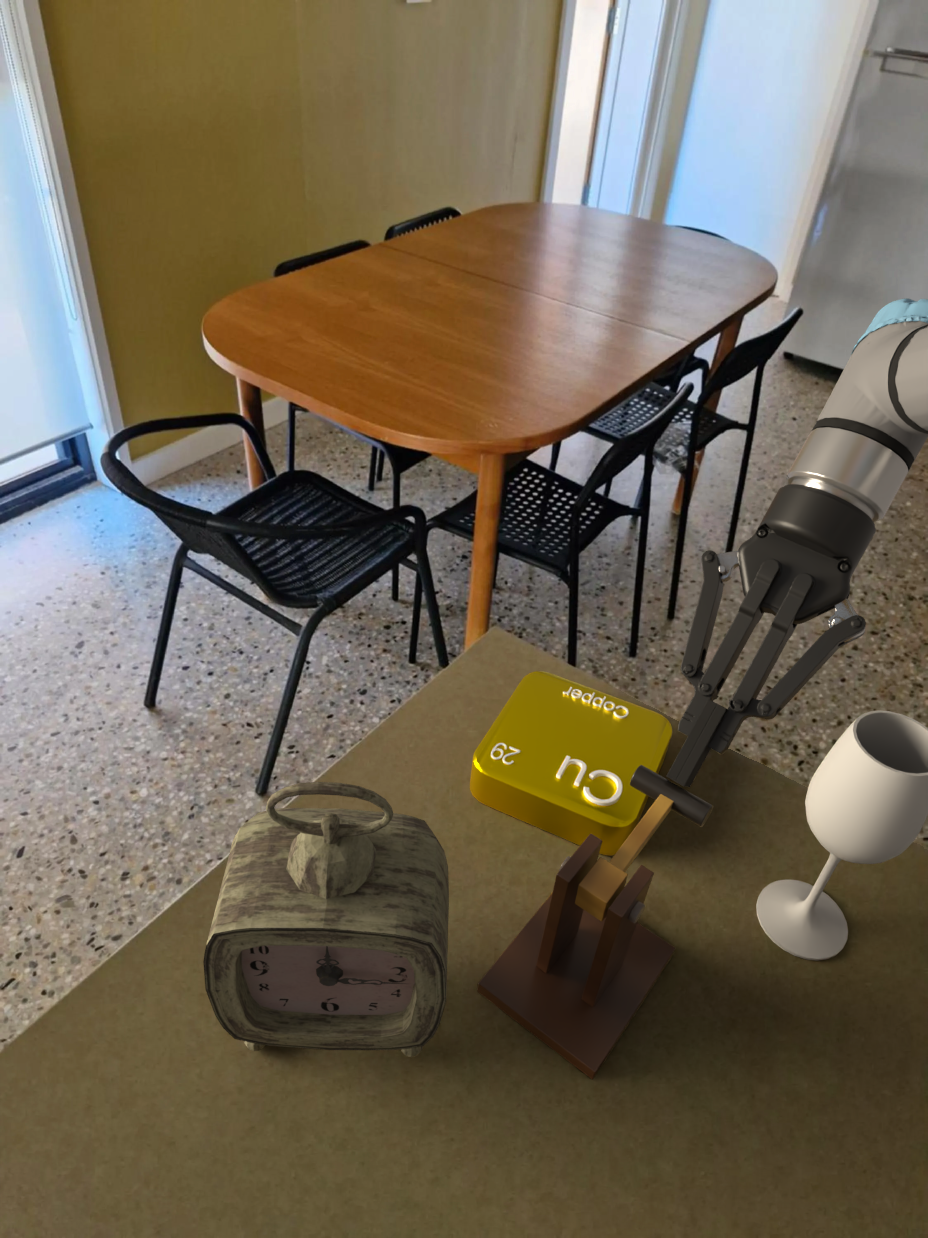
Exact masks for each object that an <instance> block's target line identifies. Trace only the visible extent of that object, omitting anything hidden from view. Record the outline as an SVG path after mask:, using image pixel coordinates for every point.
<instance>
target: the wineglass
mask: <svg viewBox="0 0 928 1238" xmlns="http://www.w3.org/2000/svg"><path fill="white" fill-rule="evenodd" d="M804 800H805V801H804V805H805V814H806V821H807V824H808V827H809V828H810V830H811V832H812V834H813V835H814V837H815V838H816V840H817V841H818V842H819V844H820V845H821V846H822V847H823V848H824V849H825V850H826V851H827V852H828V853H829V856H828V859H827V860H826V862H825V865H824V866H823V868H822V870H821V872H820V873H819V875H818V877H817V879H816V881H815V883H814V885H812V884H810V883H808V882H805V881H802V880H798V879H779V880H776V881H773V882H769V884H767V885H766V886H765V887H763V888H762V890H761V891H760V893H759V895H758V897H757V901H756V906H755V907H756V909H755V910H756V917H757V920H758V923H759V925H760V926H761V929H762V931H764V934H766V936H767V937H768V938H769V939H770V940H771V941H772V942H773V943H774V944H775V945H776V946H777V947H779V948H780V949H781V950H783V951H785V952H786V953H788V954H790V955H792V956H794V957H797V958H800V959H802V960H803V959H804V960H807V961H825V960H829V959H831V958H834V957H835V956H837V955H838V954H839V953H840V952H841V951H842V950H843V949H844V947H845V945H846V943H847V941H848V935H849V928H848V923H847V922H848V921H847V920H846V917H845V915H844V913H843V910H841V908H840V907H839V905H838V904H837V903H836V902H835V900H833V898H831V896H829V894H827V893H825V891H824V889H825V887H826V886H827V884H828V883H829V881H830V879H831V877H832V875H833V873H834V871H835V869H836V868H837V866H838V865H839V863H840V862H841V861H842V860H843V861H845V862H849V863H851V864H861V865H875V864H883V863H886V862H888V861H889V860H892V859H894V858H896V857H898V856H900V855H902V854H903V853H904V852H905V851H906V850H907V849H909V847H910V846H911V845H912V844H913V843H914V842H915V840H916V838H917V837H918V836H919V834H920V833H921V830H922V829H923V826H924V825H925V823H926V820H927V818H928V727H927V726H925V725H924V724H923V723H921V722H920V721H919V720H917V719H914V718H912V717H910V716H907V715H905V714H903V713H899V712H895V711H891V710H880V709H879V710H870V711H866V712H865V713H862V714H860V715H859V716H858V717H856V718H855V720H853V721H852V723H851V724H849V726H848V727H847V728H846V729H845V731H844V732H843V733H842V734H841V735H840V736H839V738H838V739H837V740H836V741H835V743H834V744H833V746H832V747H831V748H830V750H829V751H828V752H827V754H826V755H825V757H824V758H823V759H822V761H821V763H820V764H819V766H818V767H817V769H816V770H815V772H814V773H813V775H812V777H811V779H810V782H809V785H808V787H807V792H806V796H805V799H804Z"/></svg>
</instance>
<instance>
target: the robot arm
mask: <svg viewBox="0 0 928 1238" xmlns="http://www.w3.org/2000/svg"><path fill="white" fill-rule="evenodd" d="M927 440H928V298H920V299H919V300H914V299H911V298H901V299H897V300H893V301H891V302H889V303H887V304H886V305H884V306H882V308H880V309H879V310H878V312H877V313H876V314H875V316H874V318H873V319H872V321H870V324H869V325H868V327H867V328H866V330H865V332H864V333H863V334H861V337H859V339H858V340H857V342H856V344H855V345H854V346H853V348H852V351H851V353H850V356H849V359H848V361H847V362H846V364H845V366H844V368H843V370H842V372H841V374H840V376H839V378H838V380H837V381H836V384H835V385H834V387H833V389H832V391H831V393H830V395H829V397H828V399H827V400H826V402H825V404H824V406H823V408H822V410H821V412H820V414H819V415H818V418H817V419H816V422H815V423H814V425H813V427H812V429H811V431H810V433H809V434H808V435H807V437H806V439H805V441H804V443H803V444H802V446H801V448H800V449H799V452H798V454H797V455H796V457H795V459H794V461H793V462H792V464H791V466H790V467H789V470H788V472H787V473H786V475H785V480H786V482H787V484H786V485H784V486H781V487H780V488H778V491H777V492H776V494H775V496H774V498H773V499H772V501H771V504H770V505H769V506H768V508H767V510H766V512H765V514H764V516H763V518H762V519H761V521H760V523H759V526H758V527H757V529H756V531H755V532H754V533H753V535H751V536H750V538H747V540H745V541H744V542H742V543H741V545H740V546H739V547H738V550H733V551H728V552H719V553H716V551H714V550H706V551H704V552H703V553H702V555H701V568H702V576H703V577H702V578H703V581H702V584H701V589H700V592H699V597H698V600H697V604H696V608H695V611H694V614H693V618H692V622H691V625H690V630H689V633H688V638H687V641H686V644H685V649H684V653H683V657H682V660H681V664H680V672H681V674H682V675H683V676H684V677H685V678H686V680H688V682H689V683H690V684H691V685H692V686H693V690H694V694H693V696H692V698H691V700H690V702H689V704H688V705H687V707H686V709H685V711H684V712H683V715H682V716H681V718H680V720H679V722H678V723H677V724H678V726H677V731H678V732H679V733H681V734H684V735H685V736H687V737H686V738H685V740H684V743H683V744H682V746H681V747H680V750H679V752H678V754H677V755H676V757H675V759H674V761H673V762H672V765H671V766H670V767H669V770H668V772H667V774H666V776H665V777H666V778H667V779H670V780H672V782H673V781H674V783H676V784H678V785H679V786H680V785H681V786H682V787H684V788H691V786H692V784H693V783H694V781H695V780H696V777H697V776H698V773H699V772H700V770H701V768H702V767H703V765H704V763H705V761H706V759H707V757H708V755H709V754H710V752H711V750H713V751H714V752H716V753H718V754H720V755H723V754H724V753H725V752H727V751H728V750H729V748H730V746H731V745H732V742H733V740H734V738H735V737H736V735H737V733H738V731H739V730H740V728H741V726H742V725H743V722H744V721H745V720H746V719H749V718H757V719H763V720H769V721H770V720H773V719H774V718H776V717H777V715H778V714H780V712H781V711H782V710H783V709H784V708H785V707H786V706H787V705H788V704H789V703H790V702H791V700H792V699H793V698H794V697H795V696H796V695H797V694H798V693H799V692H800V691H801V690H802V689H803V687H805V685H806V684H807V683H808V682H809V681H810V680H811V679H812V678H813V677H814V676H815V675H816V673H818V672H819V670H820V669H821V668H822V667H823V666H824V665H825V664H826V663H827V662H828V660H830V658H831V657H832V656H833V655H834V654H835V653H836V652H837V651H838V650H839V649H840V648H842V647H843V646H846V645H847V644H849V643H851V642H853V641H856V640H858V639H859V638H861V637H862V636H864V635H865V633H866V626H867V625H866V624H867V622H866V619H865V618H864V616H861V615H860V614H858V613H857V612H856V610H855V608H854V607H853V606H852V604H851V602H850V601H849V597H850V595H851V580H852V577H853V575H854V572H855V571H856V569H857V567H858V565H859V563H860V562H861V560H862V558H863V556H864V554H865V552H866V550H867V549H868V547H869V545H870V543H871V541H872V539H873V538H874V536H875V534H876V532H877V528H876V524H875V522H879V521H880V520H883V519H884V518H885V516H886V514H887V512H888V510H889V508H890V506H891V505H892V503H893V501H894V499H895V498H896V496H897V493H898V492H899V490H900V488H901V486H902V484H903V483H904V481H905V479H906V477H907V475H908V473H909V472H910V470H911V468H912V466H913V464H914V462H915V460H916V459H917V457H918V456H919V453H920V452H921V450H922V448H923V447H924V444H925V443H926V442H927ZM737 568H738V569H739V576H740V581H741V587H742V593H743V596H744V597H743V600H742V601H741V603H740V604H739V605H740V606H739V608H738V611H737V613H736V615H735V616H734V619H733V620H732V622H731V624H730V626H729V628H728V629H727V631H726V633H725V635H724V637H723V639H722V641H721V642H720V644H719V646H718V647H717V650H716V651H715V653H714V655H713V657H712V659H711V661H710V662H709V665H708V666H707V668H706V670H705V671H704V672H703V669H704V665H705V661H706V659H707V654H708V650H709V647H710V644H711V643H710V642H711V640H712V636H713V631H714V628H715V624H716V621H717V616H718V613H719V609H720V605H721V601H722V598H723V593H724V583H726V582H728V581H730V580H731V579H732V578H733V573H734V571H735V570H736V569H737ZM832 610H834V613H833V615H831V616H830V617H829V619H828V621H827V624H828V625H827V627H828V629H827V630H825V631H824V632H823V633H822V634H820V636H819V637H818V638H817V640H815V641H814V643H813V644H812V645H811V646H810V647H809V648H808V649H807V650H806V651H805V652H804V653H803V655H802V656H801V657H800V658H799V659H797V661H796V662H795V663H794V664H793V665H792V667H790V668H789V669H788V671H787V672H786V673H785V674H784V675H783V676H782V677H781V679H779V680H778V682H777V683H776V684H774V686H773V687H772V688H771V689H770V690H769V691H768V692H767V693H766V695H764V697H763V698H762V699H758V697H759V695H760V693H761V691H762V689H763V688H764V685H765V683H766V682H767V680H768V679H769V676H770V674H771V673H772V671H773V669H774V667H775V665H776V663H777V662H778V659H779V658H780V656H781V654H782V653H783V650H784V648H785V647H786V646H787V643H788V641H789V640H790V639H791V637H792V636H793V634H794V632H795V631H796V628H797V627H798V625H801V624H805V623H807V622H809V621H812V620H813V619H816V618H817V617H820V616H821V615H824V614H826V613H827V612H830V611H832ZM765 613H766V614H771V615H773V616H774V618H773V620H772V622H771V625H770V626H769V627H770V628H769V629H768V631H767V633H766V634H765V636H764V639H763V640H762V642H761V644H760V645H759V647H758V649H757V652H756V653H755V655H754V657H753V659H752V660H751V662H750V664H749V666H748V668H747V669H746V671H745V672H744V673H745V674H744V675H743V677H742V680H741V681H740V683H739V685H738V687H737V688H736V690H735V692H734V694H733V696H732V698H731V699H729V700H728V707H727V708H726V707H724V706H723V705H721V704H719V703H717V702H715V700H717V699H718V698H720V697H719V694H720V692H721V690H722V688H723V686H724V684H725V683H726V681H727V679H728V678H729V675H730V673H731V672H732V670H733V668H734V666H735V664H736V663H737V661H738V659H739V657H740V655H741V654H742V652H743V650H744V648H745V647H746V645H747V643H748V641H749V639H750V637H751V635H752V634H753V632H754V630H755V628H756V626H757V625H758V624H759V623H760V621H761V619H762V618H763V616H764V614H765Z"/></svg>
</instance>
